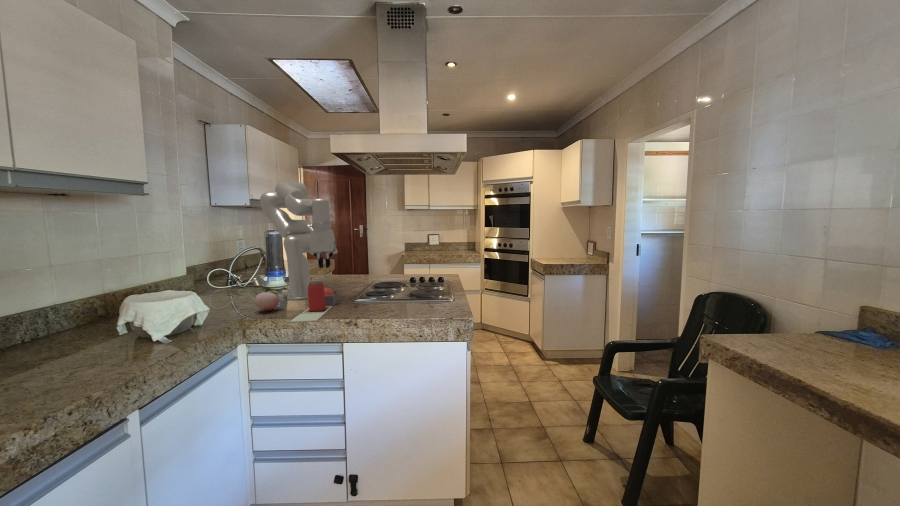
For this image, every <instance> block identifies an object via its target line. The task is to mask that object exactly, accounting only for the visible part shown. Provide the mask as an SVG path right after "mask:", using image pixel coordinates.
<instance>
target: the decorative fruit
mask: <svg viewBox="0 0 900 506" xmlns="http://www.w3.org/2000/svg"><path fill="white" fill-rule="evenodd" d="M265 289H266V290H259V291H257V292H256V293H255V299H254V300H255V304H256V306H257V308H258V309H259V310H262V311H265V312H270V311H272V310H273V309H275V308H276V307H277V306H279V303H280V299H281V298H280V295H279V294H280V293H279V292H278V291H276V290H272V289H270V290H268V287H267V288H265Z"/></svg>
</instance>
